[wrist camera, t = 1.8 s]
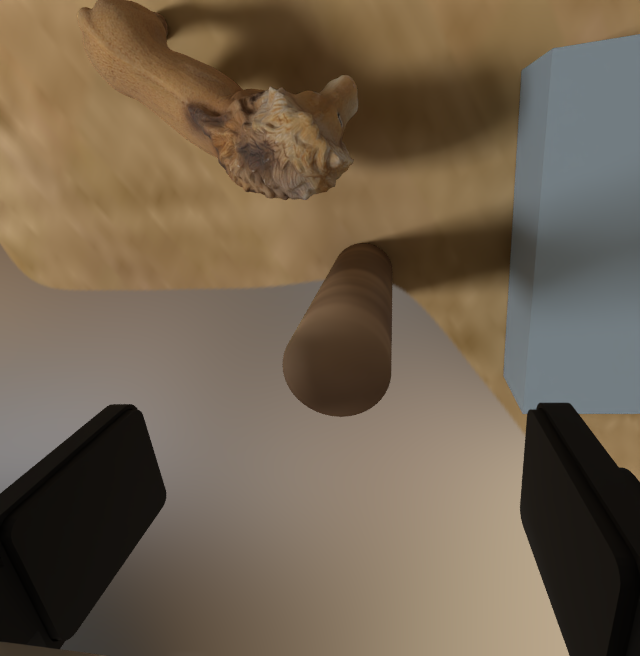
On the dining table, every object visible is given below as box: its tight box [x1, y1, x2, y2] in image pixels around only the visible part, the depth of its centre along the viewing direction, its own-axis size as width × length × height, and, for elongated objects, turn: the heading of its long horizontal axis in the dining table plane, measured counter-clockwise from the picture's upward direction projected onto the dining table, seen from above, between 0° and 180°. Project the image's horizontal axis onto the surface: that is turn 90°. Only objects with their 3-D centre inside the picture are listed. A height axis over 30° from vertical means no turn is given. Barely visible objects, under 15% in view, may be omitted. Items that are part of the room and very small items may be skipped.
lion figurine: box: [77, 0, 358, 200], centre depth 17 cm, size 15×5×9 cm, turn 68°
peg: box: [283, 243, 392, 417], centre depth 18 cm, size 3×3×12 cm
